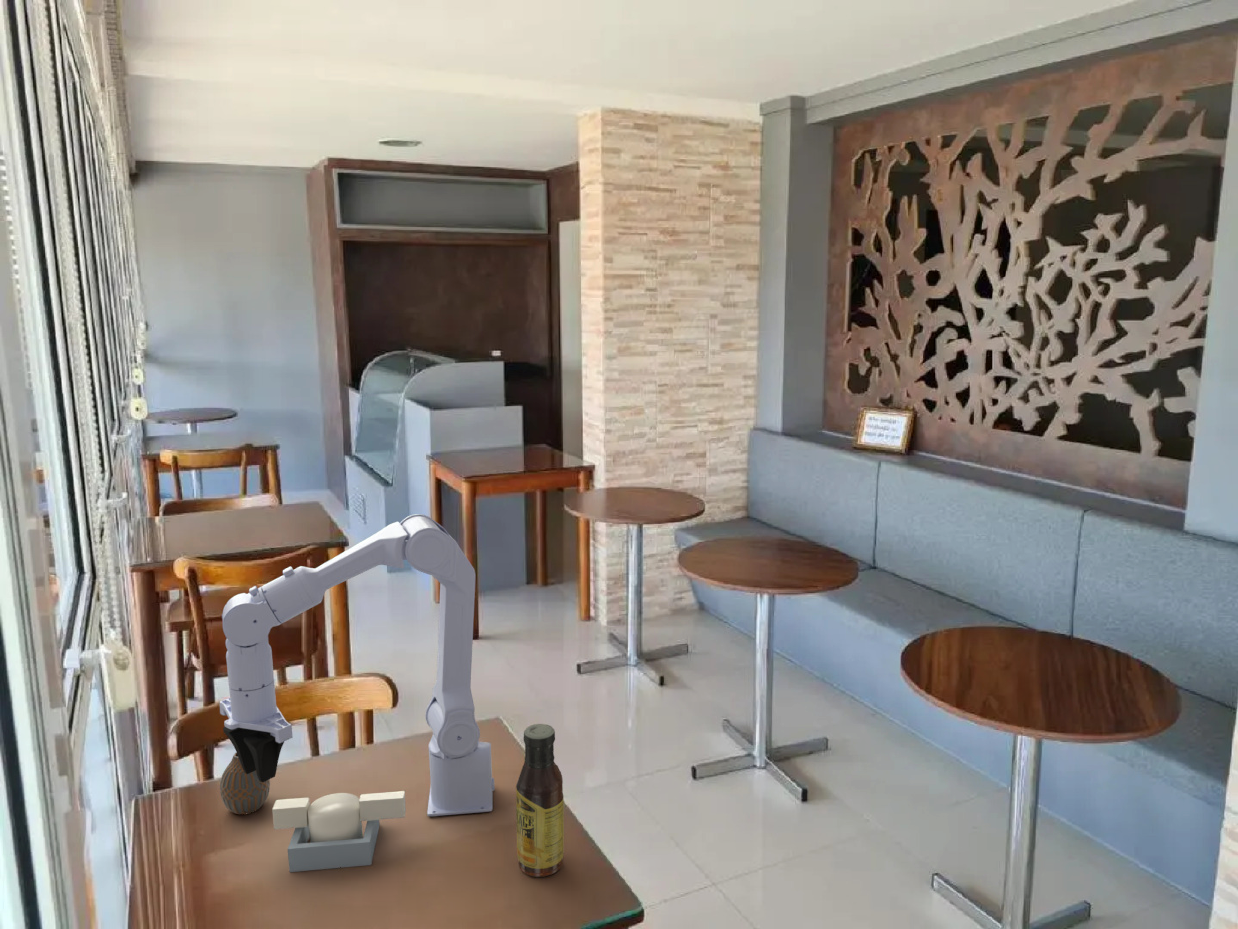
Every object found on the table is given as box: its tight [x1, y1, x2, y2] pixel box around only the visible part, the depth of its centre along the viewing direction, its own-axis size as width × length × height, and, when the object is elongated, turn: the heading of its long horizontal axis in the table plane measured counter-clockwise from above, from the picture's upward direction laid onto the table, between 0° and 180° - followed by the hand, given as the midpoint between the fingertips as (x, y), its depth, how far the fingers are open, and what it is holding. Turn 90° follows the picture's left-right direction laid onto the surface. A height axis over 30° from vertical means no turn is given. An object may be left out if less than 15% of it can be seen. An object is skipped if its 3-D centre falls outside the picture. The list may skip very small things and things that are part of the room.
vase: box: [219, 751, 271, 815], centre depth 138 cm, size 7×7×9 cm
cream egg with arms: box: [271, 790, 407, 843], centre depth 128 cm, size 17×7×7 cm, turn 98°
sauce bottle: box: [515, 723, 565, 878], centre depth 122 cm, size 6×6×20 cm
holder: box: [287, 820, 380, 873], centre depth 128 cm, size 11×10×3 cm
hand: (260, 774), depth 128 cm, fingers open, 3 cm apart
